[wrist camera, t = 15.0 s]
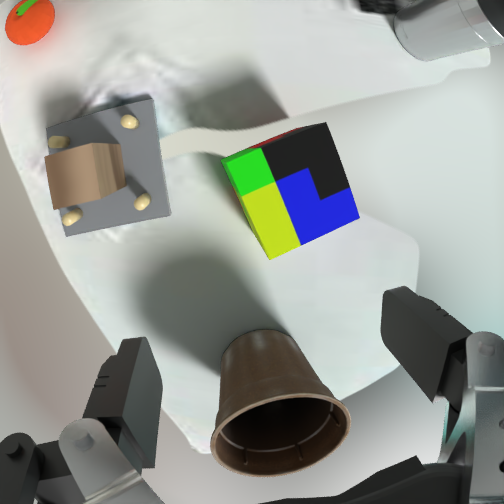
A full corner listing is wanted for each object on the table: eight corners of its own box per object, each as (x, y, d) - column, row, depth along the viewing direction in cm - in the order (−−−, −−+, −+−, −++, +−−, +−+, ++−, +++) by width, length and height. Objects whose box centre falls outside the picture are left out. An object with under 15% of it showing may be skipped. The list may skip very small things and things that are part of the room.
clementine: (57, -7, 25) (37, -27, 18) (76, 19, 27) (56, -1, 21) (14, 32, 26) (-11, 18, 19) (31, 60, 28) (4, 48, 21)
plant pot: (231, 411, 49) (243, 489, 34) (186, 341, 43) (183, 426, 28) (322, 376, 49) (359, 447, 34) (294, 298, 44) (337, 370, 28)
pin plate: (153, 100, 33) (147, 93, 29) (171, 213, 38) (167, 222, 33) (50, 128, 32) (33, 127, 27) (69, 234, 36) (54, 244, 32)
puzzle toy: (324, 201, 40) (359, 217, 31) (253, 233, 40) (269, 260, 31) (296, 128, 37) (326, 122, 27) (220, 159, 37) (226, 162, 27)
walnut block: (120, 144, 33) (92, 142, 24) (126, 186, 35) (100, 198, 25) (82, 153, 32) (44, 156, 23) (88, 194, 34) (53, 209, 25)
